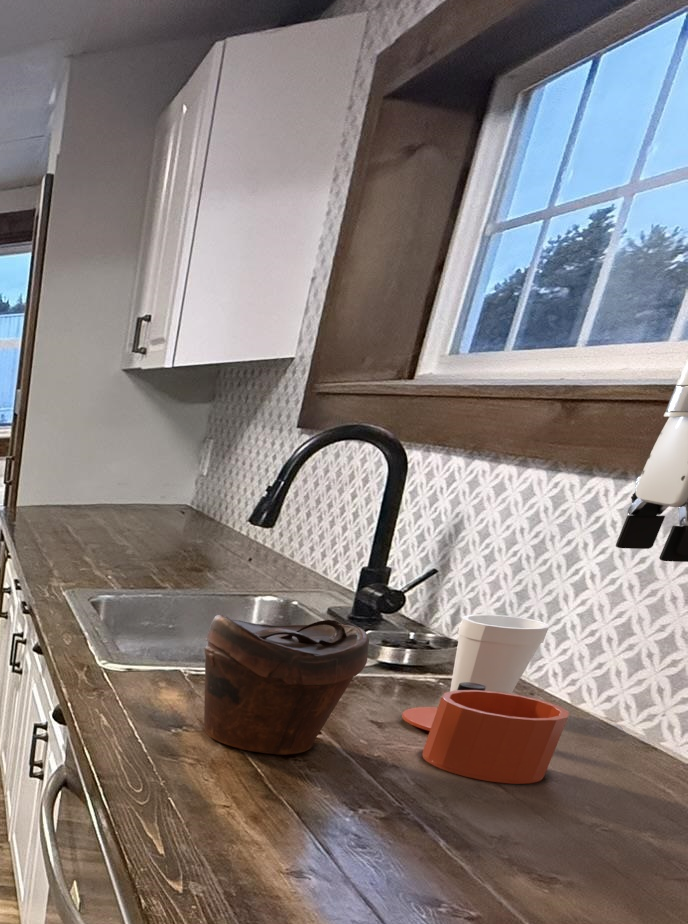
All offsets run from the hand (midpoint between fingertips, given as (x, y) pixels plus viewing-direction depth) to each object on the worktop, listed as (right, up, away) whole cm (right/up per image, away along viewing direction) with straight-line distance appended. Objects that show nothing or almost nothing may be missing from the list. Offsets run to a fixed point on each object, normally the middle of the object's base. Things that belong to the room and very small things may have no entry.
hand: (654, 554), depth 100 cm
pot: (-14, -26, +8) cm, 30 cm away
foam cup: (+6, -17, +28) cm, 33 cm away
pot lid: (-6, -20, +19) cm, 28 cm away
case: (-35, -23, +18) cm, 45 cm away
